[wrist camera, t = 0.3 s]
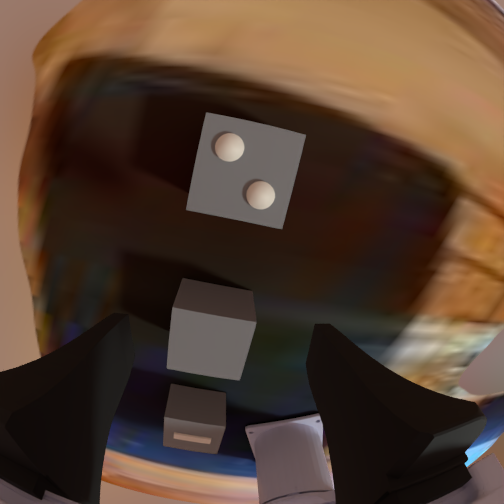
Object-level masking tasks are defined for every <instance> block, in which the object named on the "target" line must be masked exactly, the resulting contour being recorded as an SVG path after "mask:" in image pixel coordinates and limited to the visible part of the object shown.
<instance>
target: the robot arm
mask: <svg viewBox="0 0 504 504" xmlns="http://www.w3.org/2000/svg"><path fill="white" fill-rule="evenodd" d="M134 357H135V353H134V347H133V342H132V336H131V330H130V323H129V316H128V314H120V313H113V314H111V315H110V316H108V317H106V318H105V319H103V320H102V321H101V322H99V323H98V324H96V325H95V326H93V327H92V328H90V329H89V330H87V331H86V332H84V333H83V334H82V335H80V336H79V337H77V338H75V339H74V340H72V341H70V342H69V343H67V344H66V345H64V346H62V347H61V348H59V349H57V350H55V351H54V352H52V353H50V354H48V355H46V356H43V357H41V358H39V359H37V360H35V361H32V362H30V363H27V364H24V365H22V366H19V367H16V368H13V369H9V370H6V371H2V372H0V504H100V503H99V502H100V485H101V476H102V468H103V461H104V455H105V449H106V444H107V440H108V435H109V431H110V427H111V424H112V420H113V417H114V415H115V412H116V410H117V407H118V405H119V402H120V399H121V397H122V394H123V392H124V389H125V387H126V384H127V382H128V379H129V377H130V373H131V369H132V366H133V361H134ZM306 368H307V374H308V379H309V385H310V388H311V391H312V394H313V397H314V400H315V403H316V406H317V409H318V412H319V413H317V414H313V415H308V416H303V417H298V418H293V419H287V420H282V421H276V422H269V423H262V424H255V425H248V426H246V427H245V431H246V434H247V437H248V440H249V443H250V445H251V448H252V451H253V454H254V457H255V460H256V470H257V482H258V493H259V504H504V469H503V467H502V466H501V464H500V463H499V461H498V459H497V457H496V456H495V454H494V453H492V454H490V455H488V456H486V457H485V458H483V459H481V460H480V461H478V462H476V463H474V464H473V465H471V466H470V467H469V468H467V467H466V466H465V464H464V463H465V462H466V461H467V460H468V457H467V455H466V454H465V451H466V450H467V449H468V448H469V447H470V446H471V445H472V443H473V442H474V441H475V440H476V439H477V438H478V436H479V435H480V434H481V432H482V431H483V429H484V427H485V425H486V421H487V418H486V417H485V415H484V414H483V412H482V411H481V409H480V408H479V407H478V405H477V404H476V403H475V402H471V401H467V400H462V399H458V398H453V397H450V396H446V395H443V394H440V393H437V392H434V391H432V390H429V389H427V388H424V387H422V386H420V385H417V384H415V383H413V382H411V381H409V380H407V379H405V378H403V377H401V376H400V375H398V374H396V373H394V372H393V371H391V370H389V369H388V368H386V367H385V366H383V365H382V364H380V363H379V362H377V361H376V360H375V359H373V358H372V357H370V356H369V355H368V354H366V353H365V352H364V351H363V350H361V349H360V348H359V347H358V346H356V345H355V344H354V343H353V342H351V341H350V340H349V339H348V338H347V337H345V336H344V335H343V334H342V333H341V332H340V331H338V330H337V329H336V328H335V327H333V326H332V325H331V324H315V326H314V330H313V335H312V339H311V344H310V348H309V352H308V357H307V361H306ZM323 427H324V431H325V434H326V438H327V443H328V448H329V454H330V460H331V466H332V473H333V480H334V488H333V484H332V480H331V477H330V473H329V469H328V465H327V462H326V458H325V454H324V451H323V447H322V434H323ZM334 489H335V490H334Z"/></svg>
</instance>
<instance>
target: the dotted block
mask: <svg viewBox="0 0 504 504" xmlns="http://www.w3.org/2000/svg"><path fill="white" fill-rule="evenodd" d="M305 137H306V135H303V134H300V133H296V132H293V131H289V130H285V129H281V128H277V127H273V126H269V125H265V124H261V123H256V122H252V121H247V120H243V119H238V118H233V117H228V116H223V115H218V114H212V113H206V116H205V120H204V124H203V129H202V133H201V138H200V142H199V147H198V151H197V156H196V161H195V166H194V171H193V176H192V181H191V186H190V191H189V197H188V202H187V208H186V210H189V211H194V212H200V213H205V214H210V215H215V216H220V217H225V218H230V219H235V220H240V221H245V222H250V223H255V224H259V225H264V226H269V227H274V228H278V229H282V227H283V224H284V220H285V216H286V212H287V208H288V204H289V201H290V197H291V193H292V189H293V185H294V181H295V177H296V173H297V169H298V165H299V161H300V157H301V153H302V149H303V145H304V141H305Z"/></svg>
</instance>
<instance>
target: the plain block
mask: <svg viewBox="0 0 504 504" xmlns="http://www.w3.org/2000/svg"><path fill="white" fill-rule="evenodd" d="M256 323H257V321H256V313H255V306H254V298H253V291H250V290H244V289H238V288H233V287H227V286H222V285H216V284H211V283H206V282H201V281H195V280H190V279H185V278H183V279H182V281H181V284H180V287H179V290H178V293H177V296H176V298H175V301H174V304H173V307H172V316H171V326H170V336H169V347H168V359H167V368H168V369H173V370H178V371H183V372H188V373H194V374H200V375H206V376H212V377H218V378H225V379H232V380H240V378H241V374H242V371H243V368H244V364H245V361H246V357H247V354H248V351H249V347H250V344H251V340H252V337H253V333H254V330H255V326H256Z"/></svg>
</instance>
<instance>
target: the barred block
mask: <svg viewBox="0 0 504 504" xmlns="http://www.w3.org/2000/svg"><path fill="white" fill-rule="evenodd" d="M225 428H226V393H224V392H217V391H211V390H204V389H198V388H192V387H187V386H181V385H176V384H171V386H170V391H169V396H168V401H167V406H166V411H165V416H164V438H163V446H167V447H173V448H178V449H184V450H190V451H197V452H204V453H212V454H217V452H218V449H219V446H220V443H221V440H222V437H223V434H224V431H225Z"/></svg>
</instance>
